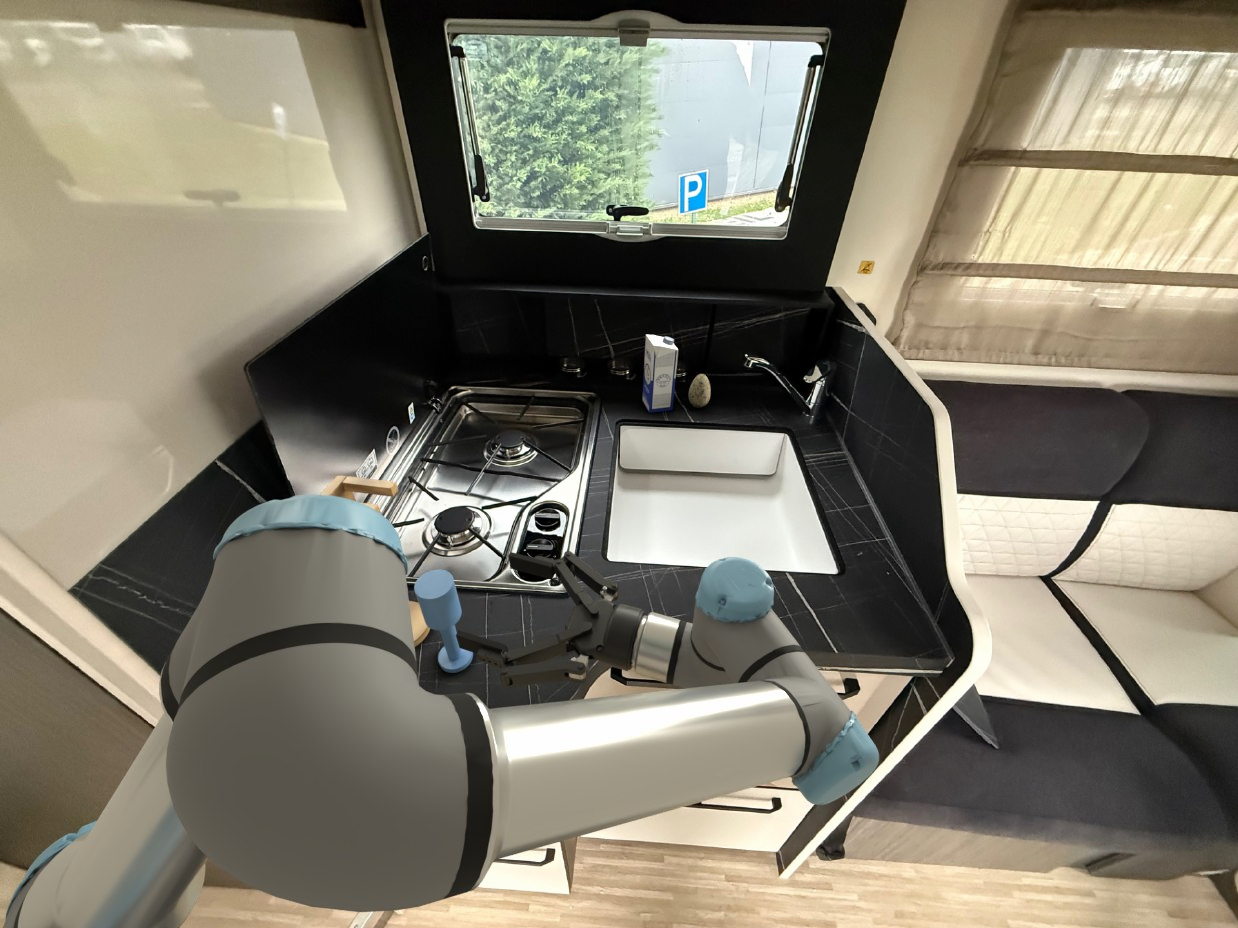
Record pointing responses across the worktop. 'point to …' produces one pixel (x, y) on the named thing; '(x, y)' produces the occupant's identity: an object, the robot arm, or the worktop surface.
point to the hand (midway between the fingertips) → (486, 596)
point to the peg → (443, 616)
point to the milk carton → (659, 373)
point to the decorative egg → (699, 391)
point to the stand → (345, 489)
